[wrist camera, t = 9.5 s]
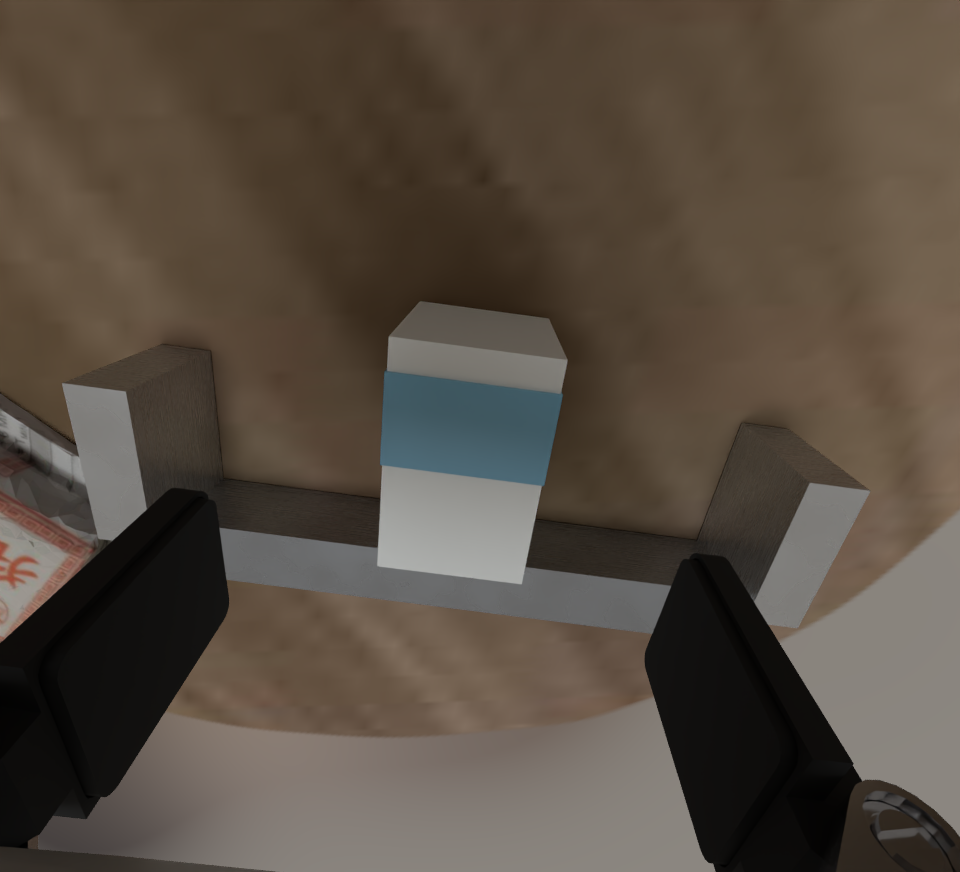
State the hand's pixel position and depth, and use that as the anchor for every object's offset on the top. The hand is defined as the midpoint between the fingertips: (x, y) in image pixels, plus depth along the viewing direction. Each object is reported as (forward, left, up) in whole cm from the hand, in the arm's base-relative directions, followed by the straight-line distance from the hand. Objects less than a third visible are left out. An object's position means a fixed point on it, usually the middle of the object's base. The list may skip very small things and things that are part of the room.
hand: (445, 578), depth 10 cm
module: (+1, 0, -12) cm, 12 cm away
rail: (+4, 0, -11) cm, 12 cm away
